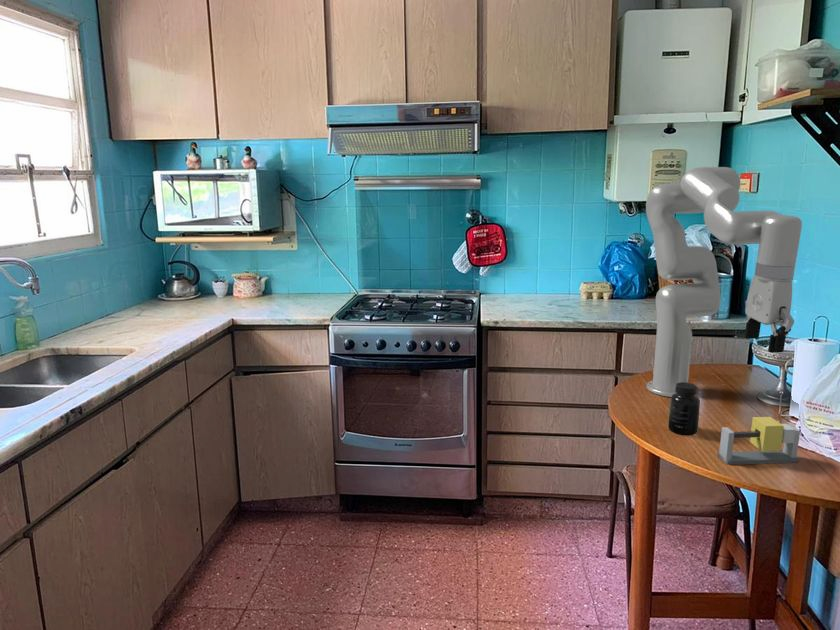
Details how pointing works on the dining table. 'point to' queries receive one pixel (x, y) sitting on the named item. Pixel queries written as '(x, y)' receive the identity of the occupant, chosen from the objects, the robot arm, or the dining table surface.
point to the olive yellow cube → (767, 434)
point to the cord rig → (756, 457)
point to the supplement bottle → (684, 410)
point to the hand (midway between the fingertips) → (763, 344)
